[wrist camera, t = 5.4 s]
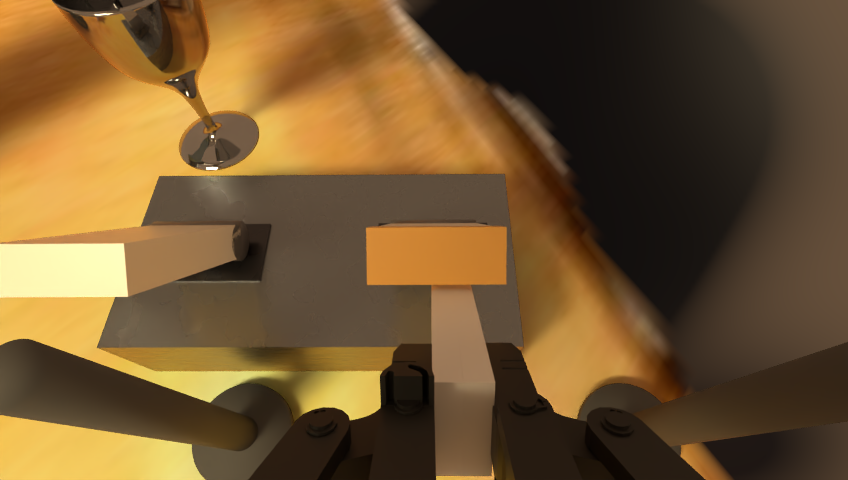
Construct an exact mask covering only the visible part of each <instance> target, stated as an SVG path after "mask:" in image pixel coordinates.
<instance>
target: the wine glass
mask: <svg viewBox="0 0 848 480" xmlns="http://www.w3.org/2000/svg"><path fill="white" fill-rule="evenodd" d="M52 1H53V2H54V4H55V5H56V6H57V8H58V9H59V10H60V12H61V13H62V14H63V16H64V17H65V18H66V19H67V21H68V22H69V23H70V24H71V25H72V26H73V28H74V29H75V30H76V31H77V32H78V33H79V35H80V36H81V37H82V38H83V39H84V40H85V41H86V42H87V43H88V44H89V45H90V46H91V47H92V48H93V49H94V50H95V51H96V52H97V53H98V54H99V55H100V56H101V57H103V58H104V59H105V60H106V61H107V62H108V63H110V64H111V65H112V66H113V67H114V68H116V69H117V70H119V71H120V72H122V73H123V74H125V75H126V76H128V77H130V78H132V79H135V80H137V81H140V82H143V83H147V84H151V85H155V86H159V87H164V88H168V89H170V90H173V91H175V92H177V93H179V94H180V95H181V96H183V97H184V98H185V99H186V101H187V102H188V103H189V104H190V105H191V106H192V108H193V109H194V110H195V111H196V112H197V114H198V115H199V116H200V118H199V119H198V120H196V121H194V122H193V123H192V124H191V125H190V126H189V127H188V128H187V129H186V130H185V132H184V133H183V135H182V137H181V139H180V143H179V152H180V155H181V157H182V159H183V160H184V161H185V162H186V163H187V164H188V165H190V166H191V167H194V168H196V169H200V170H209V171H212V170H220V169H224V168H228V167H230V166H233V165H235V164H237V163H239V162H240V161H242V160H243V159H245V158H246V157H247V156H248V155H249V154H250V153H251V152H252V150H253V149H254V147H255V146H256V144H257V141H258V136H259V132H258V127H257V125H256V123H255V122H254V120H253V119H251V118H250V117H249V116H247V115H245V114H243V113H241V112H237V111H218V112H213V113H210V114H209V113H208V111H207V109H206V107H205V105H204V102H203V100H202V98H201V95H200V92H199V89H198V79H199V75H200V72H201V70H202V68H203V65H204V63H205V61H206V58H207V56H208V52H209V47H210V36H209V28H208V23H207V19H206V14H205V11H204V8H203V5H202V2H201V0H52Z"/></svg>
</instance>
